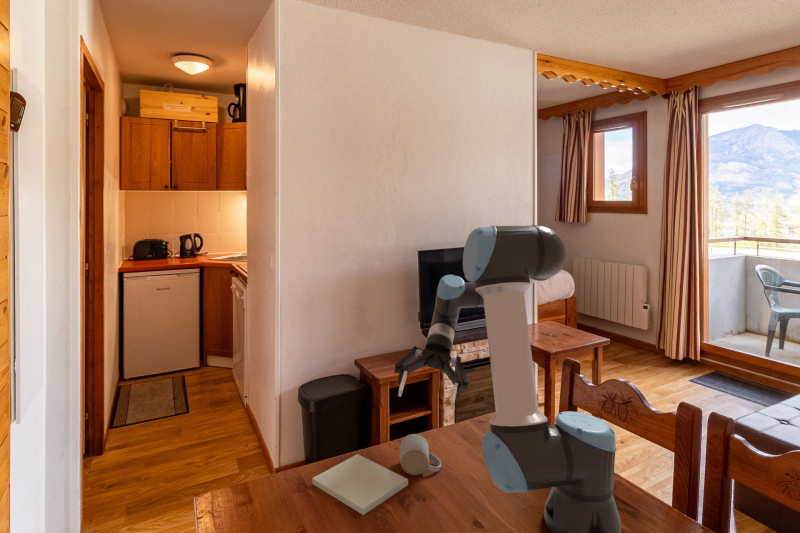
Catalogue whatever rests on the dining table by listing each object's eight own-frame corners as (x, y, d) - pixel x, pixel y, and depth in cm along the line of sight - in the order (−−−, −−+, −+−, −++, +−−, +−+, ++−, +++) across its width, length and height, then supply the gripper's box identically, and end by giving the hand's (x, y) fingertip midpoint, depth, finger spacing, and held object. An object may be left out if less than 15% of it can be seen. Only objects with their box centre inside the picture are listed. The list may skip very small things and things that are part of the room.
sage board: (408, 485, 117) (408, 479, 116) (363, 515, 106) (362, 508, 105) (357, 459, 129) (357, 454, 128) (312, 483, 118) (312, 478, 117)
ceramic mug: (400, 478, 120) (400, 449, 119) (399, 460, 128) (399, 433, 127) (442, 477, 120) (443, 448, 119) (439, 460, 128) (439, 433, 127)
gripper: (479, 361, 140) (471, 420, 123) (396, 342, 143) (377, 397, 126) (484, 343, 135) (477, 401, 118) (398, 323, 139) (379, 377, 122)
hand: (425, 399), depth 122 cm, fingers open, 13 cm apart
